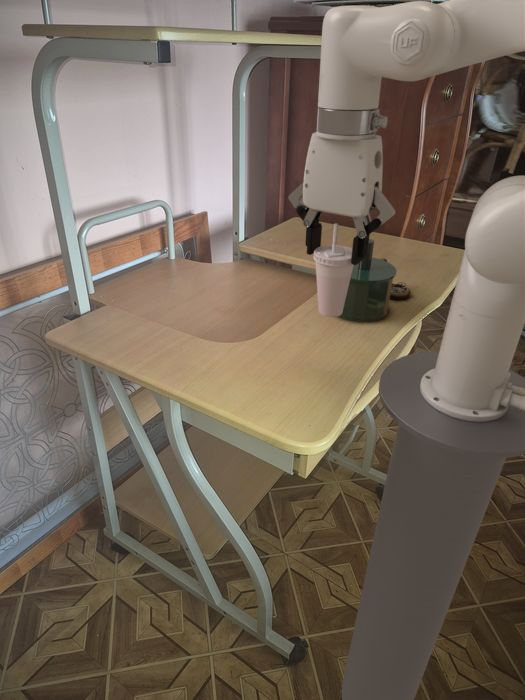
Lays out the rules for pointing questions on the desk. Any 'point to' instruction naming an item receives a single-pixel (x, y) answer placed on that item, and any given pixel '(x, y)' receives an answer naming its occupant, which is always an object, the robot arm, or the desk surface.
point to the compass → (399, 290)
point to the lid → (372, 269)
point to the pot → (367, 301)
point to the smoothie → (332, 276)
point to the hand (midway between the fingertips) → (335, 255)
